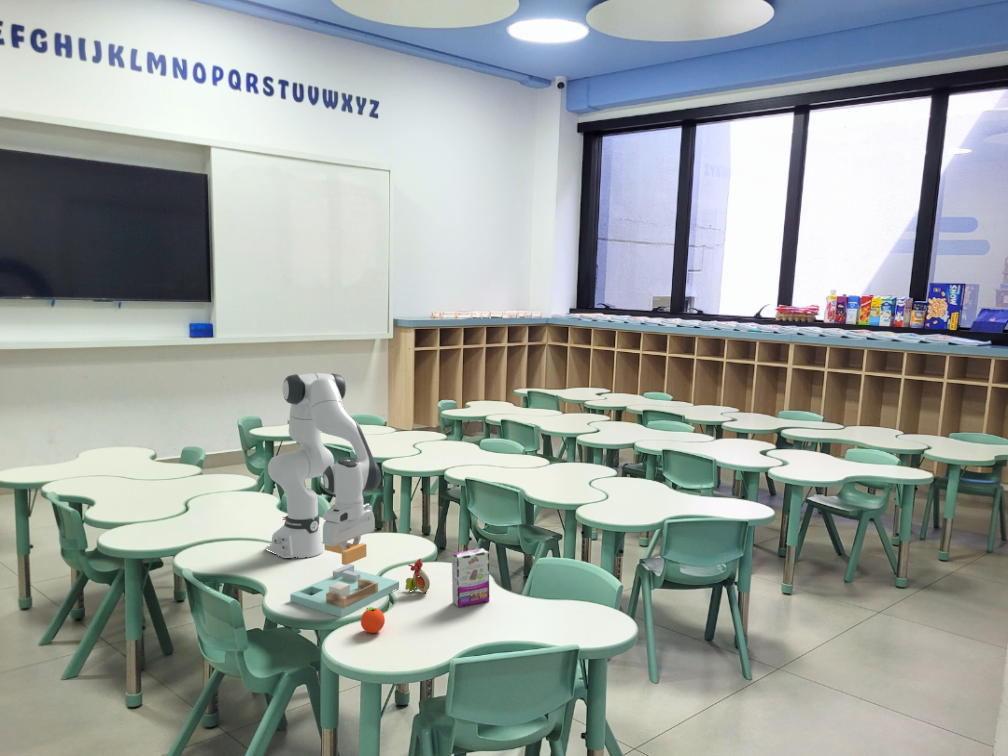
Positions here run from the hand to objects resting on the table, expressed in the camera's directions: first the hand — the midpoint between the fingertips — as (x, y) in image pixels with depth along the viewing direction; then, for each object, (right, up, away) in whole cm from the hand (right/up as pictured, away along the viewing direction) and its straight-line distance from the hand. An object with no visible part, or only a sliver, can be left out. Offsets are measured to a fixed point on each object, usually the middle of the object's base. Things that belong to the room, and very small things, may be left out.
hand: (350, 552), depth 244 cm
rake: (-4, -1, -2) cm, 4 cm away
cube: (-2, -14, -4) cm, 15 cm away
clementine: (+11, -19, -21) cm, 30 cm away
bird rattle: (+21, -15, +9) cm, 28 cm away
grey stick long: (-2, -12, +12) cm, 17 cm away
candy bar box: (+38, -16, +1) cm, 41 cm away
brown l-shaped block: (+1, -14, -2) cm, 14 cm away
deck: (-2, -15, +6) cm, 16 cm away
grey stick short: (-6, -11, +17) cm, 21 cm away
